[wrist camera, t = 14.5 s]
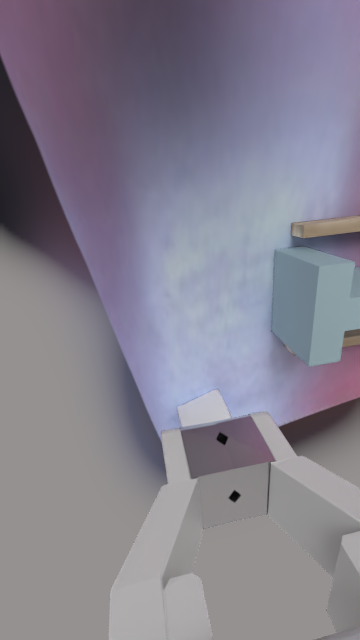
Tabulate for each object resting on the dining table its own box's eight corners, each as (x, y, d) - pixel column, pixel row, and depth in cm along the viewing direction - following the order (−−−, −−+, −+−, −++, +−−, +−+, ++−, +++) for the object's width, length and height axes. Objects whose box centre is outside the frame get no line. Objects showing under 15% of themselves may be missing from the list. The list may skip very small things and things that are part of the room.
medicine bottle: (193, 436, 50) (212, 504, 39) (176, 406, 47) (191, 471, 36) (232, 418, 50) (262, 481, 39) (217, 387, 47) (245, 446, 36)
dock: (291, 223, 38) (304, 225, 36) (396, 210, 40) (416, 212, 37) (284, 345, 46) (294, 355, 43) (373, 330, 47) (388, 339, 45)
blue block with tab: (274, 249, 39) (319, 266, 30) (370, 237, 41) (440, 250, 32) (271, 330, 44) (308, 366, 35) (357, 317, 46) (414, 348, 37)
